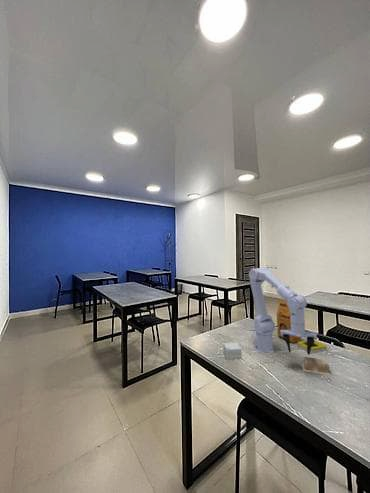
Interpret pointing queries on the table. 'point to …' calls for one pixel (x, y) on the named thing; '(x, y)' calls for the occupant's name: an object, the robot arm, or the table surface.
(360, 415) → the table surface
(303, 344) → the emergency button
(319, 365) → the wooden block
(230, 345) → the small box
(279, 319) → the coffee package
